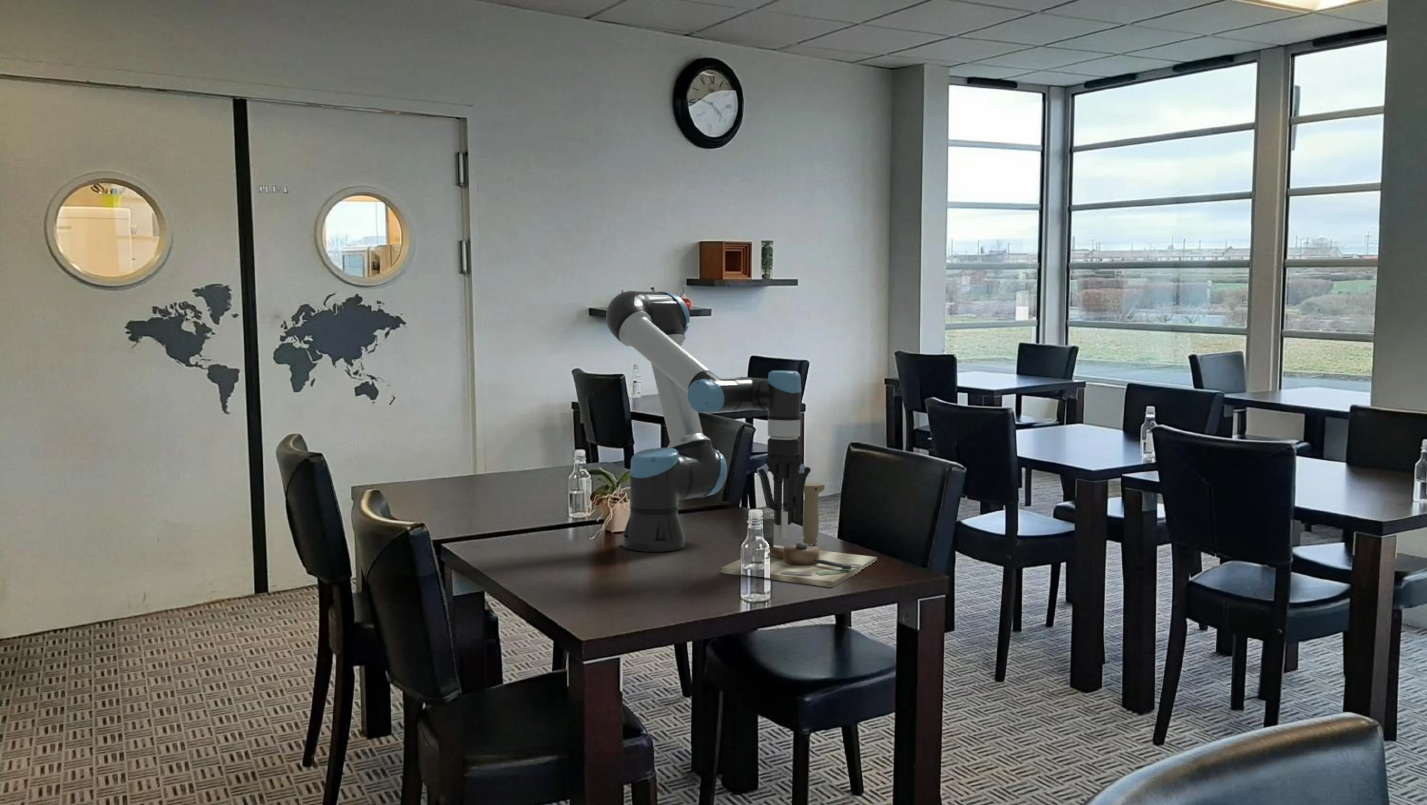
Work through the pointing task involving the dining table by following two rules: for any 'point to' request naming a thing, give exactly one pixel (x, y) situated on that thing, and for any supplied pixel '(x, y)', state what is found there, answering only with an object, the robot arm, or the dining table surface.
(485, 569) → the dining table surface
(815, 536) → the handle
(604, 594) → the dining table surface
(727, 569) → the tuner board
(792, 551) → the brown handled round piece
